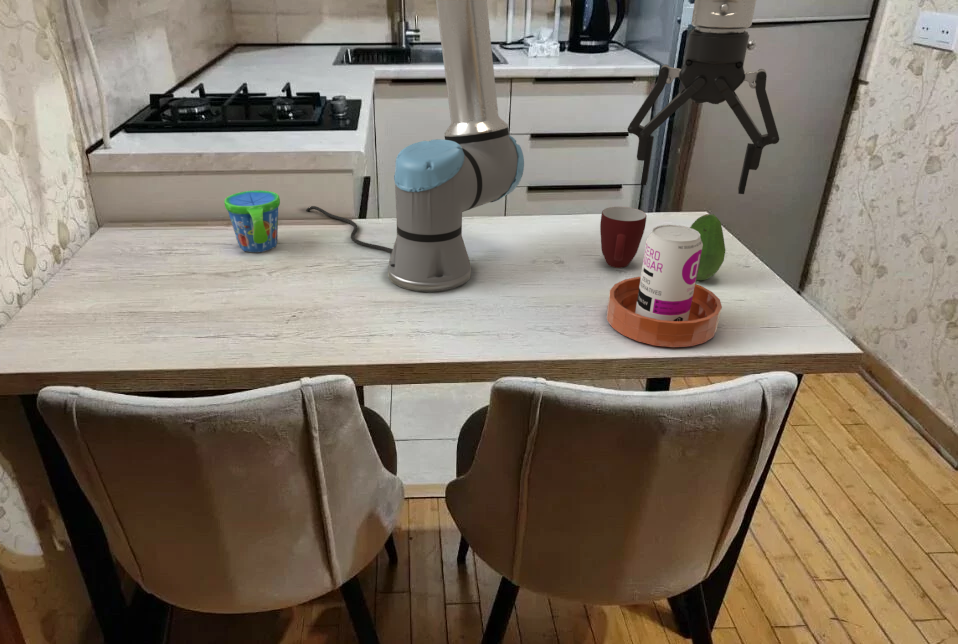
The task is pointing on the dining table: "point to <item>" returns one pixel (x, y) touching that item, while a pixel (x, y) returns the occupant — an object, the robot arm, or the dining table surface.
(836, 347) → the dining table surface
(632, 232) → the mug
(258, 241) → the snack cup
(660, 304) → the supplement can
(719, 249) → the avocado
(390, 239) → the dining table surface
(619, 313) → the bowl
